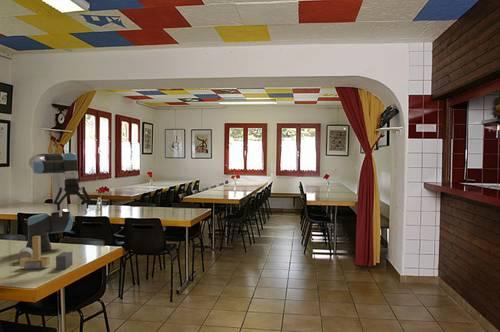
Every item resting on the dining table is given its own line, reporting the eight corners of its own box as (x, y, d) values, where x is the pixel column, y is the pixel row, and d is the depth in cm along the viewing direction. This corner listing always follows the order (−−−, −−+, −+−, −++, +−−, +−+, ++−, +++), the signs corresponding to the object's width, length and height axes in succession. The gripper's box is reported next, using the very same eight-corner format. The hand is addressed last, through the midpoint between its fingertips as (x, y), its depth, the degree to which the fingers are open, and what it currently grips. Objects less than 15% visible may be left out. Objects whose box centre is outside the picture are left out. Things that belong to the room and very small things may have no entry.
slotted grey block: (63, 264, 219) (63, 252, 219) (72, 264, 219) (72, 251, 219) (56, 269, 209) (55, 256, 209) (65, 269, 209) (65, 256, 209)
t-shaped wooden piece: (23, 265, 214) (22, 236, 214) (49, 264, 215) (49, 235, 215) (19, 267, 210) (19, 237, 210) (46, 266, 211) (46, 236, 211)
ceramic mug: (17, 264, 221) (17, 250, 221) (19, 260, 229) (19, 247, 229) (38, 262, 226) (38, 249, 226) (39, 259, 233) (39, 246, 233)
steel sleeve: (30, 266, 216) (30, 259, 216) (45, 266, 216) (45, 258, 216) (24, 270, 209) (24, 262, 209) (39, 269, 209) (39, 262, 209)
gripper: (49, 178, 216) (51, 216, 213) (95, 177, 232) (97, 212, 228) (46, 180, 222) (48, 217, 218) (91, 179, 238) (93, 214, 234)
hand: (73, 215), depth 223 cm, fingers open, 13 cm apart
